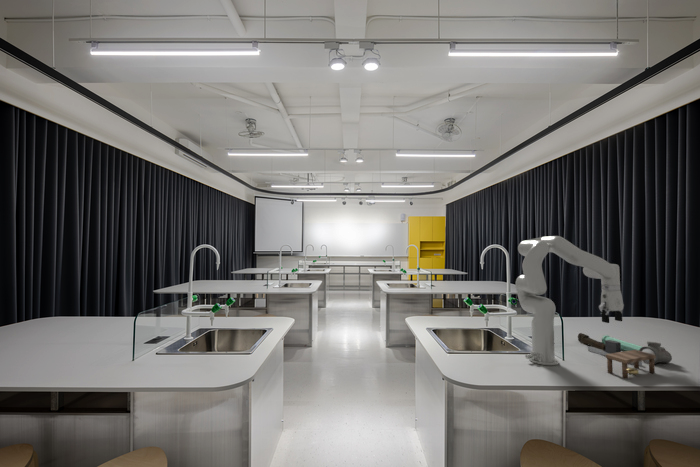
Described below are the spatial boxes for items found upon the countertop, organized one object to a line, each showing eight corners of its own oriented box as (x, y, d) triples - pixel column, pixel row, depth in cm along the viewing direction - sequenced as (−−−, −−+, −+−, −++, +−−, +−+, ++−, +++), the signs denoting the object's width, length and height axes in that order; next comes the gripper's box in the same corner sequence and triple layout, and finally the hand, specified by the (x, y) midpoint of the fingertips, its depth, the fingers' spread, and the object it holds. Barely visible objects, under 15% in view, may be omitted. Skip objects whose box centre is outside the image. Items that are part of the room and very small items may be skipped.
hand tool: (613, 354, 172) (612, 343, 172) (603, 353, 172) (603, 343, 172) (584, 341, 194) (583, 332, 195) (575, 341, 195) (575, 332, 195)
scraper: (638, 367, 153) (637, 348, 154) (587, 351, 176) (586, 335, 177) (643, 366, 155) (642, 348, 155) (591, 350, 177) (591, 335, 178)
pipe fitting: (655, 365, 153) (655, 343, 154) (638, 361, 160) (637, 340, 162) (676, 367, 154) (675, 345, 156) (658, 362, 162) (657, 341, 164)
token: (633, 375, 143) (633, 371, 143) (621, 371, 147) (621, 367, 147) (641, 374, 144) (641, 370, 144) (628, 370, 149) (628, 366, 149)
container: (655, 347, 163) (608, 333, 188) (646, 352, 162) (600, 337, 187) (659, 357, 163) (611, 342, 188) (650, 363, 162) (603, 347, 187)
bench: (626, 379, 139) (625, 360, 139) (606, 372, 146) (605, 354, 147) (656, 373, 145) (655, 354, 145) (635, 366, 153) (634, 349, 153)
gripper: (607, 289, 160) (608, 324, 160) (630, 287, 166) (631, 321, 165) (591, 288, 168) (592, 321, 167) (614, 286, 173) (615, 318, 173)
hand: (612, 321), depth 166 cm, fingers open, 9 cm apart
